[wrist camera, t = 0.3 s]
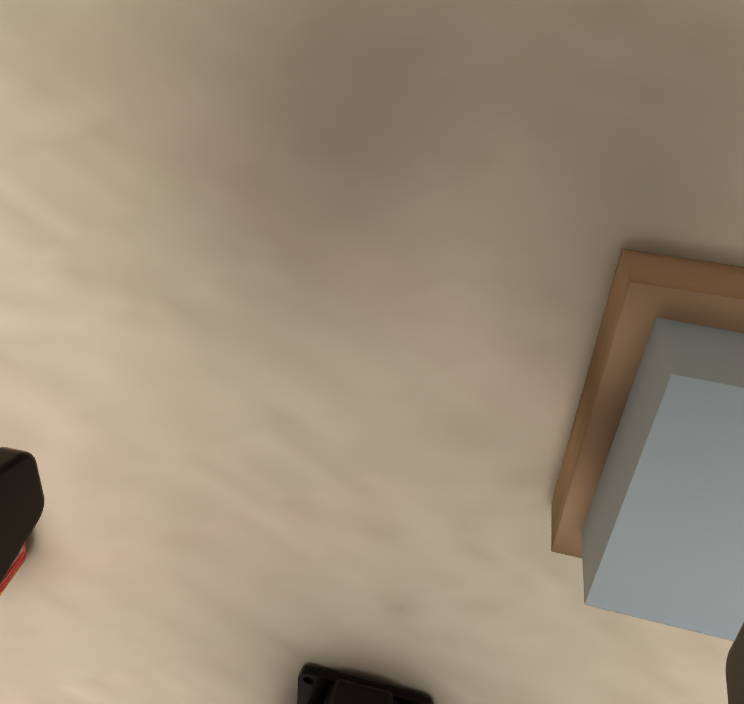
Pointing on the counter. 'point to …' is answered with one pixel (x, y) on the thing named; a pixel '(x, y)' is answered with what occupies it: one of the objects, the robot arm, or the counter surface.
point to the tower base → (633, 364)
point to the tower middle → (675, 488)
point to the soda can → (13, 568)
